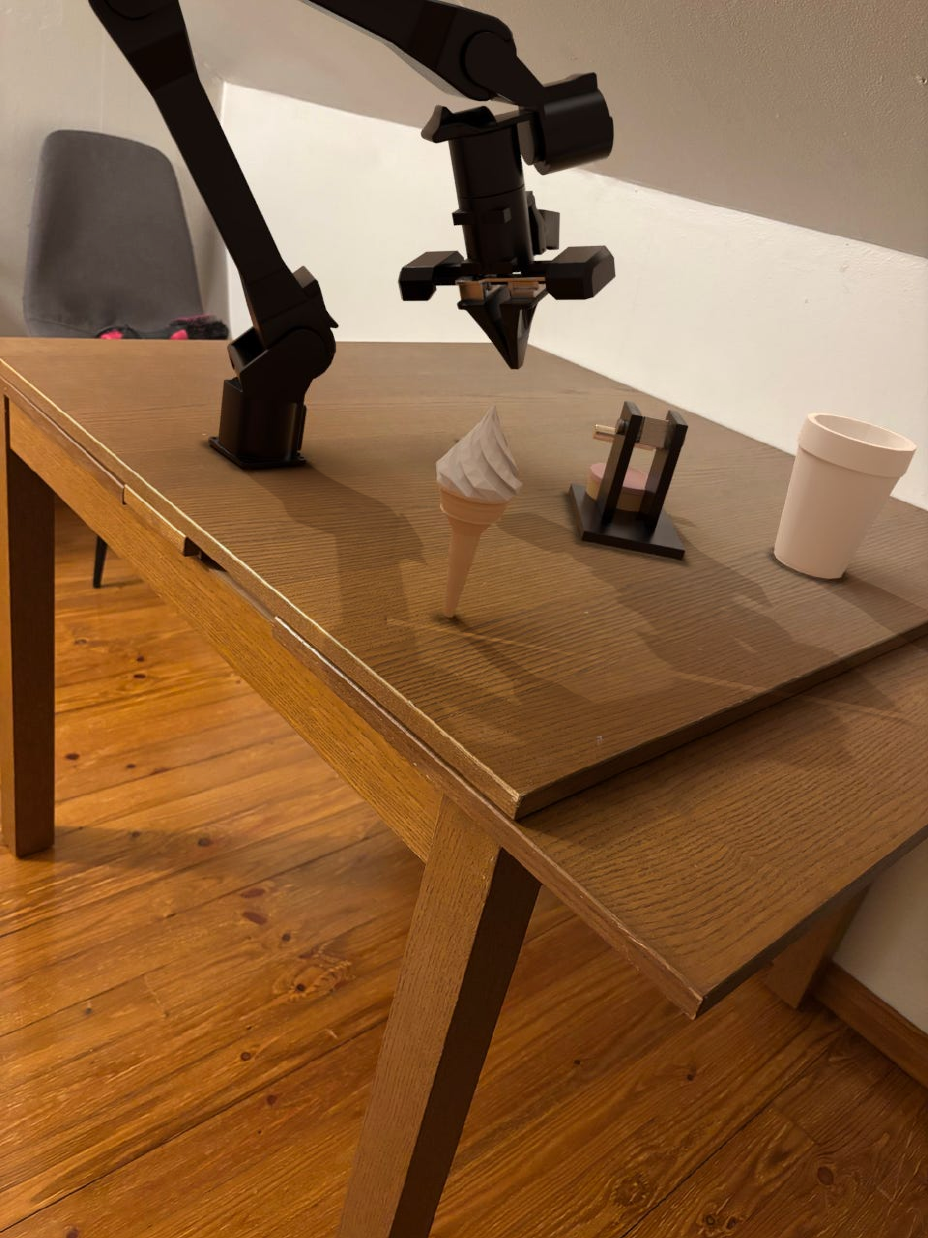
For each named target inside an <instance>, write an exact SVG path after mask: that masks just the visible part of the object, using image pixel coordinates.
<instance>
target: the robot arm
mask: <svg viewBox="0 0 928 1238" xmlns="http://www.w3.org/2000/svg"><path fill="white" fill-rule="evenodd" d="M297 1H298V2H301V3H302V4H304V5H306V6H308V7H311V8H312V9H314V10H317V11H318V12H320V13H322V14H324V15H326V16H328V17H330V18H332V19H334V20H336V21H338V22H340V23H342V24H343V25H345V26H347V27H350V28H352V29H354V30H355V31H357V32H359V33H361V34H364V35H366V36H367V37H369V38H371V39H373V40H375V41H377V42H380V43H381V44H383V45H384V46H385V47H387V49H389V50H390V51H391V52H393V53H394V54H395V55H397V56H398V57H399V58H400V59H401V60H402V61H403V62H404V63H405V64H406V65H408V66H409V67H410V68H411V69H412V70H413V71H415V72H416V73H417V74H418V75H420V76H421V77H422V78H424V79H425V80H426V81H428V82H429V83H430V84H431V85H433V86H434V87H436V88H437V89H438V90H439V91H441V92H442V93H444V94H446V95H448V96H452V97H455V98H460V99H466V100H470V101H473V102H489V101H491V102H495V103H500V104H501V103H502V104H506V105H511V106H512V105H513V106H516V107H517V109H516V110H515V109H514V110H512V111H508V112H507V111H506V112H503V113H499V114H494V113H493V111H492V110H491V109H490V108H489V107H488V106H487V105H479V106H475V107H471V108H467V109H464V110H459V111H456V112H453V111H451V110H450V109H449V108H448V107H447V106H445V105H441V104H436V105H435V106H434V108H433V112H432V115H431V117H430V118H429V120H428V121H427V122H426V124H425V125H424V126H423V128H422V129H421V131H420V137H421V138H422V139H423V140H425V141H428V142H430V143H433V144H441V143H445V142H447V144H448V149H449V157H450V162H451V167H452V173H453V180H454V186H455V192H456V198H457V205H458V209H455V210H454V211H453V212H451V218H452V224H453V226H454V227H455V226H461V229H462V234H463V241H464V247H465V252H466V258H465V257H464V256H463V255H462V253H460V251H459V250H436V251H435V250H433V251H425V252H423V253H422V254H421V255H418V256H417V257H416V258H414V259H412V260H411V261H410V262H408V263H407V264H405V265H403V266H402V267H401V269H400V271H399V275H398V277H397V278H398V279H397V284H398V290H399V294H400V298H401V301H402V302H428V301H430V300H432V298H433V296H434V295H435V293H436V292H437V287H449V286H450V287H453V286H454V287H455V286H458V292H459V298H460V300H459V301H457V303H456V306H457V309H458V310H459V311H466V313H468V315H469V316H470V317H471V318H472V319H473V321H474V322H475V323H476V324H477V325H478V326H479V328H480V329H481V330H482V331H483V333H485V335H486V336H487V338H488V339H489V341H490V342H491V343H492V344H493V346H494V347H495V349H496V350H497V352H498V353H499V355H500V356H501V358H502V359H503V361H504V362H505V363H506V365H507V367H508V368H509V369H510V370H521V368H522V367H523V365H524V362H525V361H524V360H525V357H526V352H527V348H528V341H529V337H530V333H531V327H532V323H533V319H534V317H535V314H536V310H537V307H538V305H539V303H540V302H541V301H543V299H545V298H546V297H547V296H548V295H550V296H551V297H552V298H553V299H554V300H555V301H585V300H589V299H593V298H595V297H596V296H597V295H598V294H599V293H600V292H601V291H602V290H603V289H604V288H606V286H607V285H609V284H610V283H611V282H612V281H613V280H614V279H615V278H616V277H617V276H616V266H615V257H614V255H613V254H612V252H611V251H610V250H609V249H608V247H607V246H606V245H602V244H601V245H577V246H576V245H574V246H567V247H566V248H565V249H564V250H562V251H561V252H560V253H559V254H557V255H556V256H555V257H554V258H552V259H548V260H547V259H545V260H543V259H542V260H535V257H536V256H542V255H543V254H545V253H546V252H547V251H557V250H560V233H561V231H560V229H561V228H560V227H561V226H560V225H561V212H559V211H554V210H549V209H542V208H538V207H537V204H536V197H535V195H534V192H533V190H526V183H525V174H524V168H523V162H524V163H525V165H527V166H529V167H530V166H533V167H534V169H535V171H537V173H538V174H540V176H547V175H551V174H554V173H558V172H559V173H560V172H563V171H566V170H571V169H574V168H578V167H581V166H586V165H590V164H593V163H597V162H601V161H605V160H607V159H609V157H610V155H611V154H612V151H613V147H614V140H615V139H614V138H615V127H614V126H615V125H614V119H613V116H611V115H610V110H609V106H608V104H607V100H606V98H605V96H604V94H603V92H602V91H601V90H600V89H599V85H598V74H597V73H596V72H594V71H585V70H584V71H580V72H576V73H572V74H570V75H568V76H566V77H565V78H562V79H559V80H555V81H550V82H546V83H542V82H540V81H539V79H537V77H536V76H535V74H533V72H532V71H531V70H530V69H529V68H528V67H527V65H526V64H525V63H524V62H523V60H522V59H520V57H519V56H518V49H517V45H516V42H515V38H514V34H513V31H512V30H511V29H510V27H509V25H507V24H506V23H504V22H503V21H502V20H501V19H500V18H499V17H496V16H494V15H491V14H489V13H484V12H481V11H478V10H475V9H472V8H468V7H466V6H462V5H459V4H456V3H451V2H447V1H443V0H297ZM87 3H88V7H89V8H90V10H91V11H92V13H93V14H94V16H95V17H96V19H97V20H98V21H99V23H100V24H101V26H102V27H103V29H104V30H105V32H106V33H107V35H108V36H109V37H110V39H111V41H112V42H113V43H114V44H115V46H116V47H117V49H118V50H119V52H120V53H121V54H122V56H123V58H124V59H125V60H126V62H127V63H128V64H129V66H130V67H131V69H132V70H133V72H134V73H135V75H136V76H137V78H138V79H139V80H140V82H141V83H142V85H143V86H144V88H145V89H146V90H147V92H148V93H149V95H150V96H151V97H152V100H153V101H154V104H155V105H156V108H157V110H158V112H159V114H160V116H161V118H162V120H163V122H164V124H165V126H166V128H167V130H168V132H169V134H170V137H171V138H172V140H173V143H174V144H175V146H176V148H177V151H178V152H179V154H180V156H181V159H182V160H183V162H184V164H185V167H186V169H187V171H188V172H189V175H190V176H191V179H192V180H193V181H192V182H194V185H195V187H196V188H197V190H198V191H197V192H198V193H199V195H200V197H201V199H202V200H203V203H204V205H205V207H206V209H207V211H208V213H209V216H210V217H211V219H212V222H213V223H214V225H215V228H216V229H217V231H218V233H219V236H220V237H221V239H222V241H223V243H224V246H225V247H226V249H227V252H228V254H229V255H230V258H231V260H232V261H233V263H234V266H235V268H236V270H237V273H238V276H239V280H240V285H241V289H242V292H243V296H244V299H245V303H246V306H247V310H248V313H249V316H250V320H251V323H252V326H251V327H249V328H248V329H247V330H245V331H244V332H243V333H241V334H239V336H238V337H236V338H235V339H233V340H232V341H231V342H230V343H228V344H227V346H226V349H227V354H228V358H229V362H230V365H231V368H232V370H233V371H234V373H235V375H236V376H234V377H232V378H231V379H223V386H222V396H221V405H220V406H221V407H220V416H219V428H218V435H216V436H215V435H213V436H209V437H208V444H209V445H211V446H212V447H213V448H214V449H216V450H218V451H219V452H220V453H222V454H223V455H225V456H226V457H227V458H228V459H230V460H231V461H232V462H233V463H235V464H236V465H238V466H239V467H241V468H242V469H256V468H271V467H283V466H296V465H297V466H299V465H300V466H301V465H306V464H307V463H308V457H306V456H305V455H303V453H301V452H300V451H301V450H302V448H303V442H304V434H305V426H306V420H307V419H306V418H307V413H308V407H307V406H306V404H305V400H306V399H305V398H306V394H307V392H308V390H309V388H310V387H311V384H312V383H313V381H314V380H316V379H318V378H319V377H321V376H322V375H323V374H325V373H326V372H327V370H328V369H329V368H330V366H331V365H332V363H333V361H334V358H335V355H336V353H337V342H336V339H335V335H334V332H333V330H332V329H338V328H339V327H340V325H339V324H338V322H337V321H336V320H335V318H334V317H332V315H331V314H330V313H329V311H328V310H327V306H326V305H325V300H324V296H323V292H322V289H321V286H320V283H319V281H318V278H316V277H315V276H314V275H313V273H311V271H310V270H309V269H308V268H307V267H306V266H305V265H302V266H300V267H299V268H297V269H296V270H294V271H293V272H292V271H291V269H290V268H289V266H288V265H287V264H286V262H285V260H284V259H283V256H282V254H281V252H280V250H279V248H278V245H277V244H276V241H275V239H274V237H273V234H272V233H271V230H270V228H269V226H268V224H267V222H266V219H265V217H264V215H263V213H262V211H261V209H260V206H259V204H258V202H257V200H256V198H255V196H254V194H253V192H252V190H251V187H250V185H249V183H248V181H247V179H246V177H245V174H244V172H243V170H242V168H241V165H240V164H239V160H238V159H237V157H236V154H235V152H234V150H233V148H232V146H231V144H230V142H229V140H228V137H227V136H226V133H225V131H224V129H223V126H222V124H221V122H220V120H219V118H218V116H217V113H216V112H215V109H214V107H213V105H212V103H211V101H210V99H209V96H208V94H207V92H206V89H205V87H204V85H203V83H202V81H201V79H200V75H199V72H198V69H197V65H196V60H195V57H194V52H193V48H192V44H191V40H190V36H189V32H188V28H187V25H186V21H185V18H184V15H183V11H182V8H181V4H180V0H87Z"/></svg>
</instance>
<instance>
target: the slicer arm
mask: <svg viewBox="0 0 928 1238" xmlns="http://www.w3.org/2000/svg"><path fill="white" fill-rule="evenodd" d="M642 416H643V419H642V422H641V426H640V429H639V432H638V436H637V439H636V442H635V446H634V449H639V450H643V451H644V450H645V451H648V452H653V451H655V450H656V449H661V448H663V447H664V443H665V438H666V434H667V429H668V425H669V421H668V420H665V419H662V418H658V417H654V416H649V415H642ZM614 436H615V427H612V426H607V425H603V424H595V425H594V428H593V429H592V439H593V440H596V441H601V442H605V443H610V444H612V443H613V440H614Z"/></svg>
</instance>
